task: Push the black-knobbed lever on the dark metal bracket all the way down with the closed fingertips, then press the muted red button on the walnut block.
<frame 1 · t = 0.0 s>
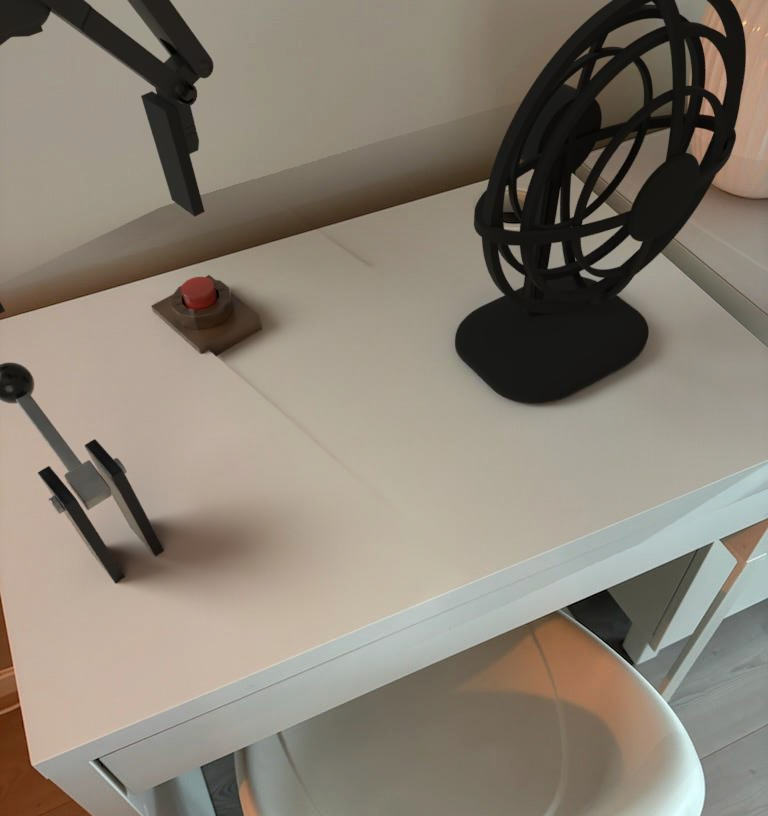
hand: (94, 252, 46), 29 cm above the table, tool pointing down, fingers open, 13 cm apart
lever: (49, 433, 59), point 14 cm above the table, hinge at 30.0°
button block: (208, 325, 86), on the table
desk fan: (553, 349, 82), on the table
button: (199, 293, 83), point 4 cm above the table, slide at 0.1 cm
bracket: (132, 559, 68), on the table
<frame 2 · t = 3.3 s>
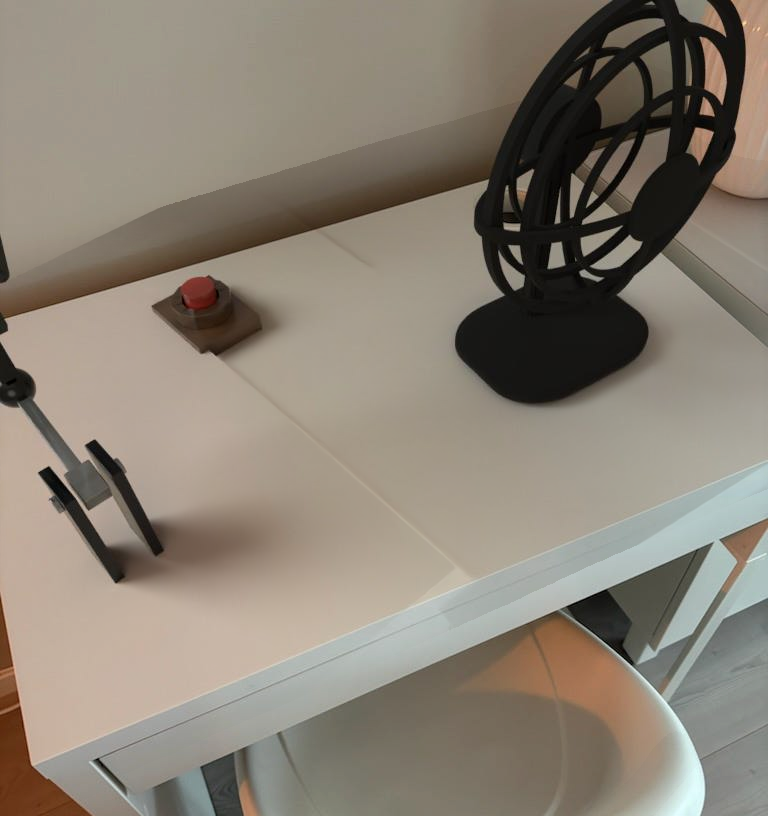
hand: (3, 370, 58), 17 cm above the table, tool pointing down, fingers closed
lever: (50, 435, 59), point 13 cm above the table, hinge at 24.7°
everything else where it was.
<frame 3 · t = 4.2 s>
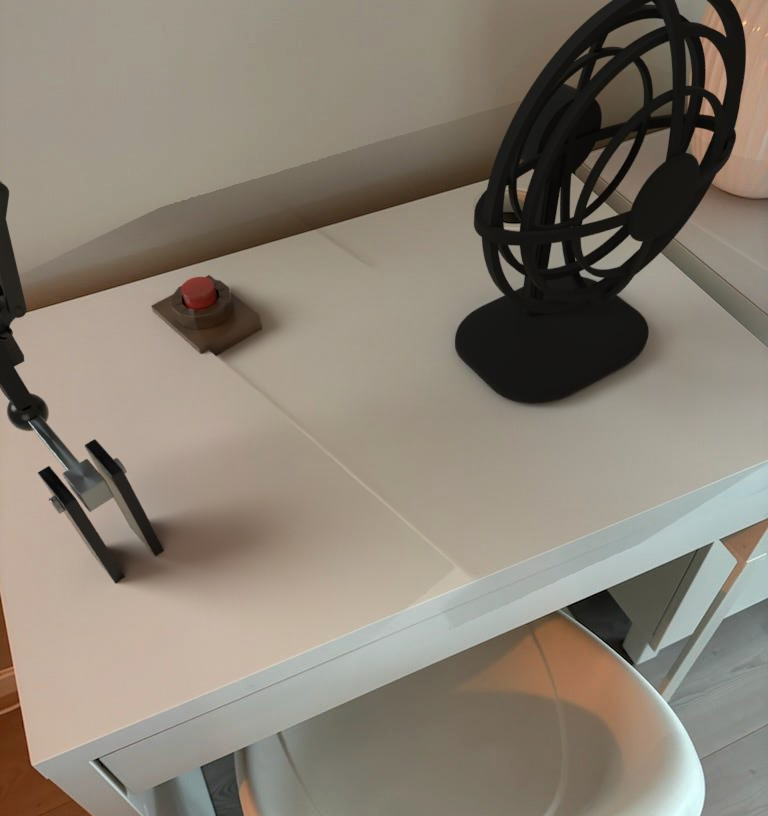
hand: (19, 398, 61), 14 cm above the table, tool pointing down, fingers closed
lever: (56, 446, 61), point 11 cm above the table, hinge at 4.1°, touching gripper
everything else where it was.
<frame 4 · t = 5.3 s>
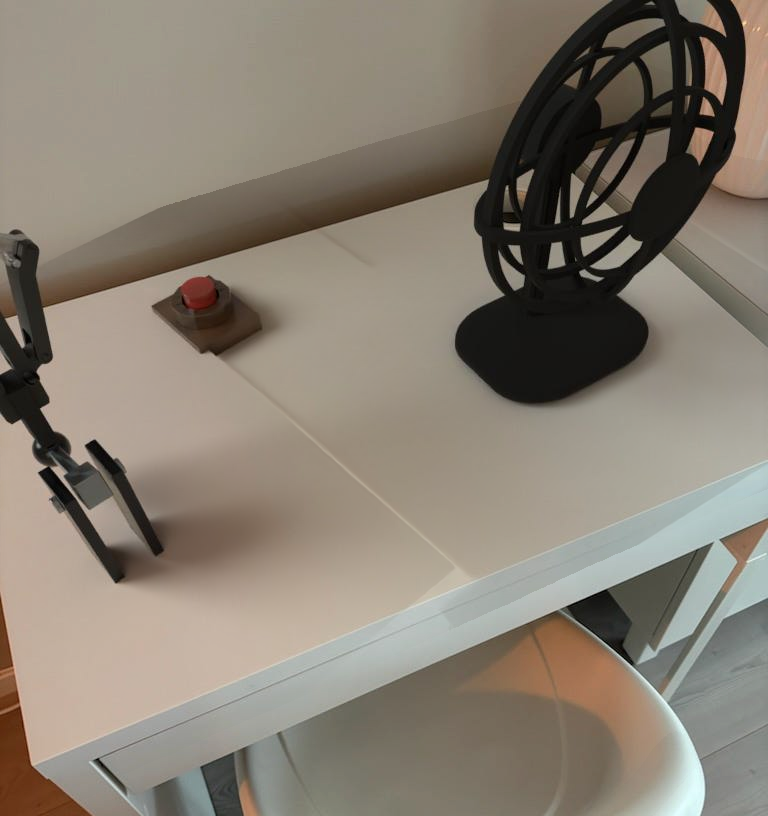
hand: (44, 436, 64), 9 cm above the table, tool pointing down, fingers closed
lever: (68, 465, 62), point 9 cm above the table, hinge at -20.6°, touching gripper
everything else where it was.
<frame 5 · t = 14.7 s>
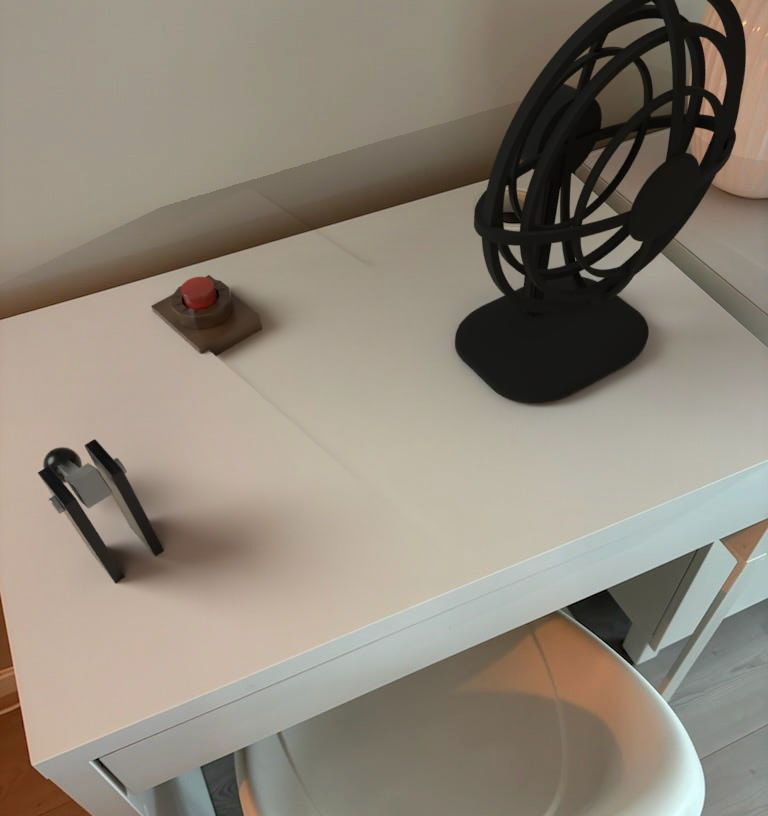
lever: (74, 474, 63), point 8 cm above the table, hinge at -30.6°
everything else where it was.
at the end: lever at -31° (first picture: +30°); button pushed in 1.0 cm at the most during the clip, back to where it started at the end; button slide at 0.1 cm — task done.
